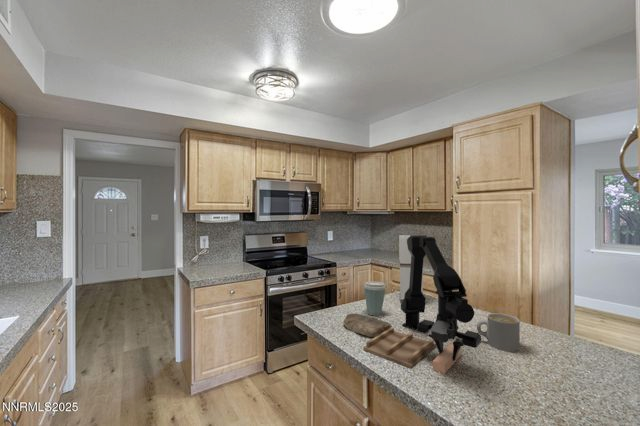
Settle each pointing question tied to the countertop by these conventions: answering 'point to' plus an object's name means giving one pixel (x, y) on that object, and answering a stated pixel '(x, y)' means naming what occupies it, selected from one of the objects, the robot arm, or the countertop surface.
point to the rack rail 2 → (420, 351)
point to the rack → (399, 349)
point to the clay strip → (445, 359)
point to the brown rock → (365, 325)
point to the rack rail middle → (399, 344)
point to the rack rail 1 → (379, 337)
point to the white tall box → (405, 266)
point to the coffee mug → (501, 331)
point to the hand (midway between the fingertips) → (447, 358)
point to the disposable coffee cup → (374, 297)
